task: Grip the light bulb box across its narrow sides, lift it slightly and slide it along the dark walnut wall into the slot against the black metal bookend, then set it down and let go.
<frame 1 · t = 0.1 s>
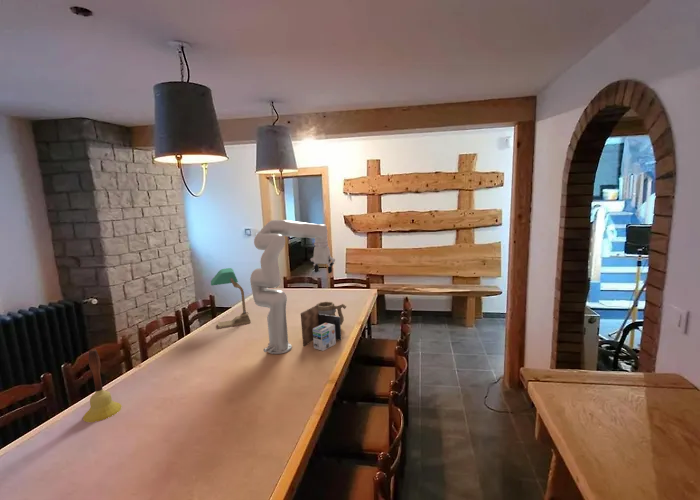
hand: (323, 272, 220), 31 cm above the table, tool pointing down, fingers open, 9 cm apart
tankard: (331, 327, 214), on the table
bookend: (330, 338, 197), on the table
light bulb box: (325, 346, 187), on the table
handbell: (102, 412, 137), on the table
walnut wall: (311, 340, 195), on the table
banker's lamp: (233, 324, 229), on the table
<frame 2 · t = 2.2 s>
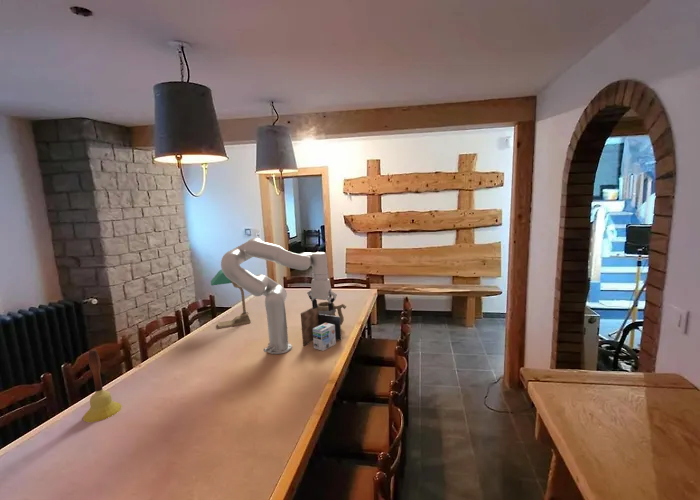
hand: (322, 309, 184), 20 cm above the table, tool pointing down, fingers open, 9 cm apart
nothing on the table moved.
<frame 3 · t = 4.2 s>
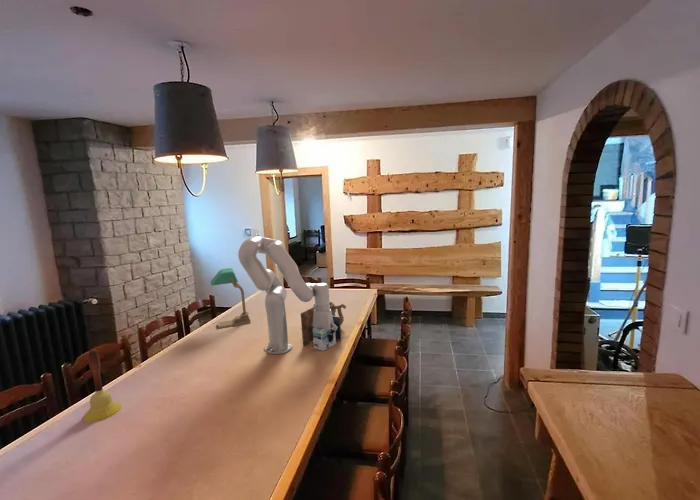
hand: (324, 339, 187), 3 cm above the table, tool pointing down, fingers closed on light bulb box, 7 cm apart
light bulb box: (325, 346, 187), on the table, touching gripper
everything else where it was.
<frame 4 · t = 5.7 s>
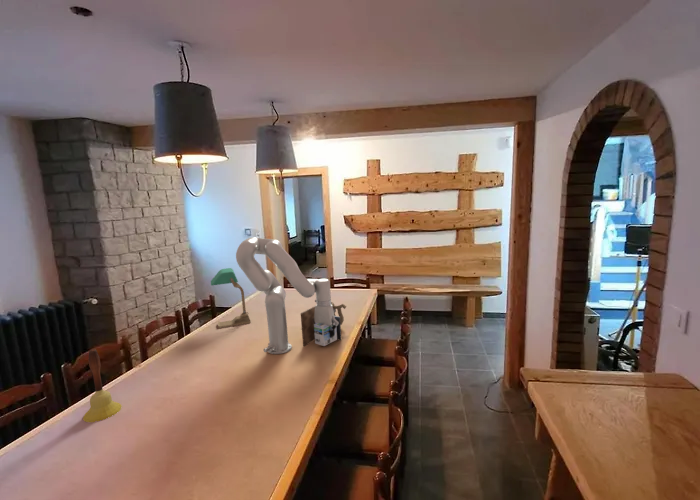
hand: (325, 335, 188), 5 cm above the table, tool pointing down, fingers closed on light bulb box, 7 cm apart
light bulb box: (326, 341, 188), point 2 cm above the table, touching gripper
everything else where it was.
when the fingers open (4 cm above the table, at t = 7.1 s): light bulb box stays where it is, on the table.
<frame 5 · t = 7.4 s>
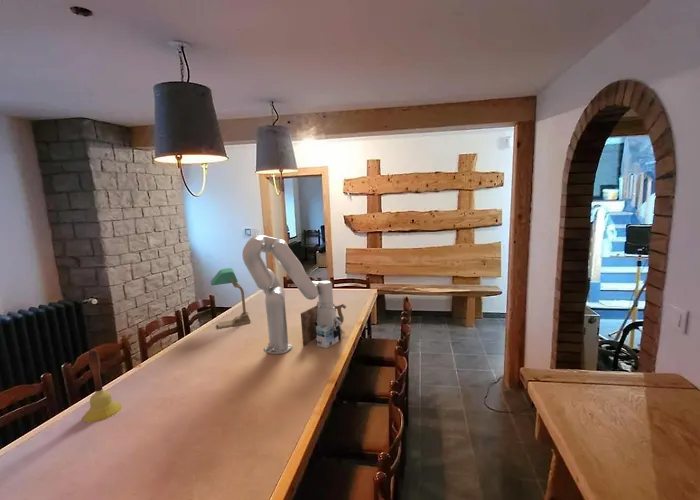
hand: (328, 335, 190), 4 cm above the table, tool pointing down, fingers open, 9 cm apart
light bulb box: (328, 344, 190), on the table
everything else where it was.
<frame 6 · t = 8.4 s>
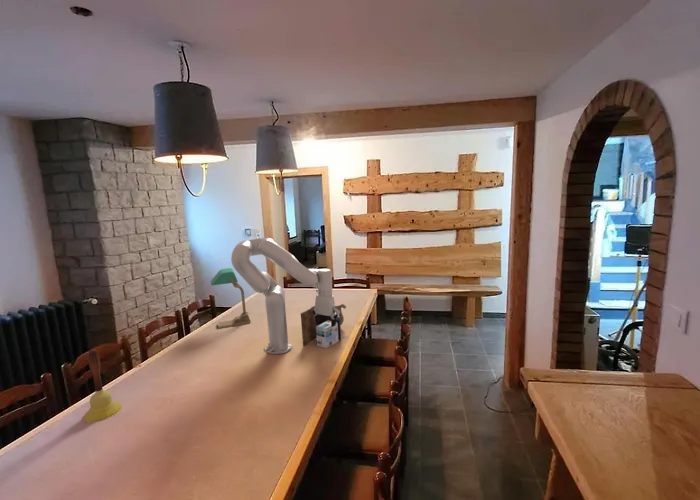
hand: (325, 324, 189), 11 cm above the table, tool pointing down, fingers open, 9 cm apart
nothing on the table moved.
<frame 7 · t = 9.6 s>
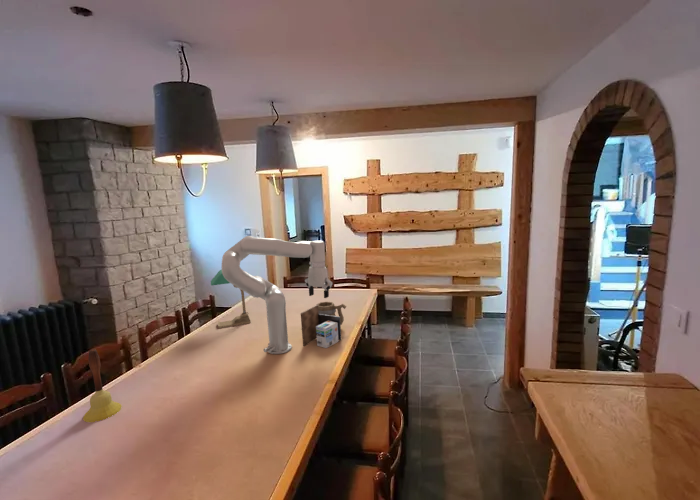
hand: (318, 296, 190), 25 cm above the table, tool pointing down, fingers open, 9 cm apart
nothing on the table moved.
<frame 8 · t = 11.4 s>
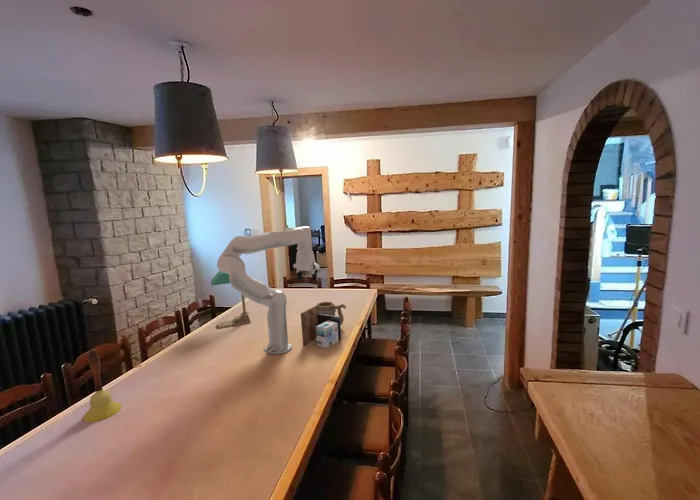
hand: (307, 280, 196), 32 cm above the table, tool pointing down, fingers open, 9 cm apart
nothing on the table moved.
at the end: light bulb box 0.5 cm from the target spot, on the table; light bulb box tilted 0°; the gripper is holding nothing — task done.
